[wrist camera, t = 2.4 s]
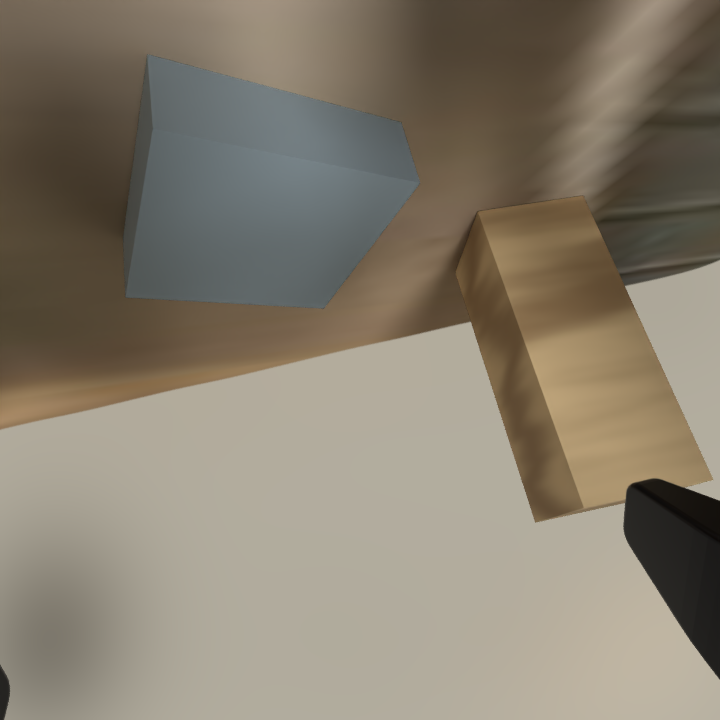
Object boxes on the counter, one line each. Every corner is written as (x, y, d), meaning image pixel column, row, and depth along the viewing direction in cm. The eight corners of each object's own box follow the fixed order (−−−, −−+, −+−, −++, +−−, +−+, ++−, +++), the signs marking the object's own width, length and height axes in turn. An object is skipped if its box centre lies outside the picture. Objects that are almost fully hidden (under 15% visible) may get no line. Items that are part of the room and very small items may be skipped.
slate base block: (146, 45, 14) (152, 128, 13) (398, 114, 18) (420, 182, 17) (122, 230, 20) (125, 297, 19) (312, 252, 24) (323, 308, 23)
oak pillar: (477, 211, 23) (584, 508, 18) (583, 195, 24) (713, 479, 19) (455, 272, 28) (535, 522, 23) (543, 258, 28) (640, 499, 23)
